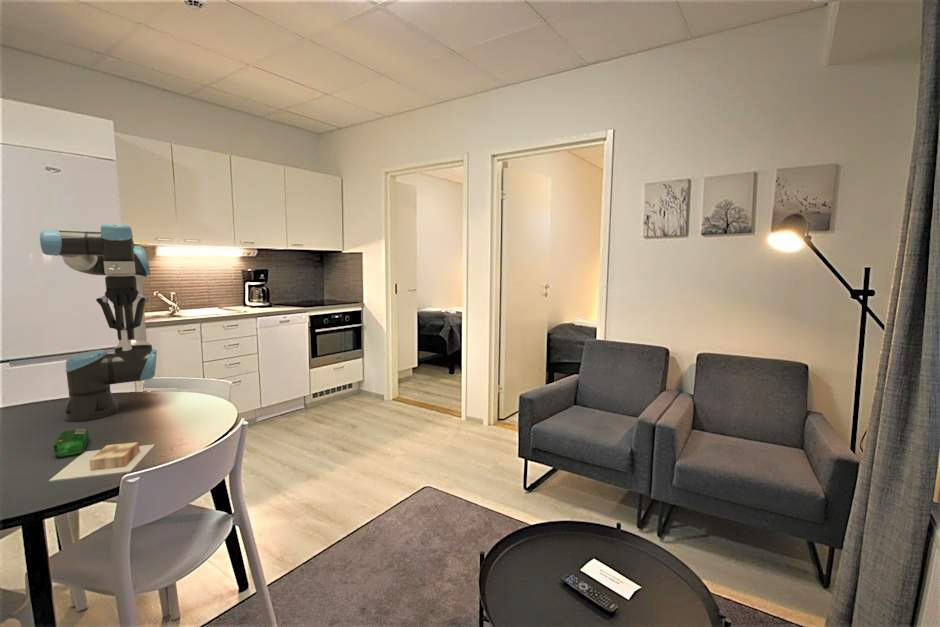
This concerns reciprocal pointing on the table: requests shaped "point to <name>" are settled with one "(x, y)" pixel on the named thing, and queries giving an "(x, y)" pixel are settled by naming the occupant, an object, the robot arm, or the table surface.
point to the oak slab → (114, 456)
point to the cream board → (82, 469)
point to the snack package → (71, 442)
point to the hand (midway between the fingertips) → (127, 349)
